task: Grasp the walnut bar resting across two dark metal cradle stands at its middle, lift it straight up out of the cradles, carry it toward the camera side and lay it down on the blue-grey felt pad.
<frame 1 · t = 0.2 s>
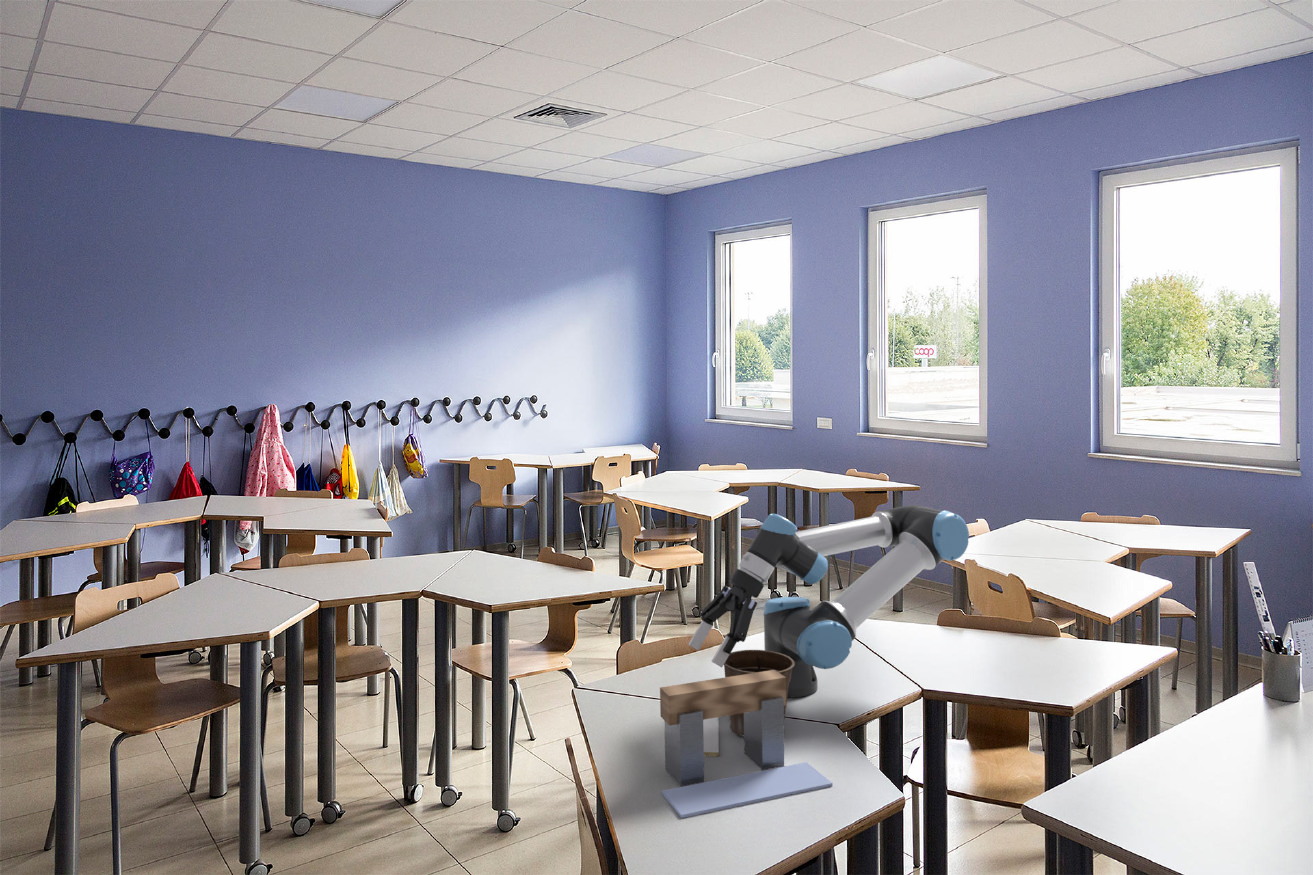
hand: (704, 655, 201), 16 cm above the table, tool tilted 35°, fingers open, 13 cm apart
stand 1: (684, 775, 178), on the table
oak rail: (724, 710, 180), point 12 cm above the table, touching stand 2, stand 1
baseboard molding: (692, 729, 202), on the table
plant pot: (756, 730, 199), on the table
stand 2: (763, 759, 184), on the table
felt pad: (747, 789, 171), on the table
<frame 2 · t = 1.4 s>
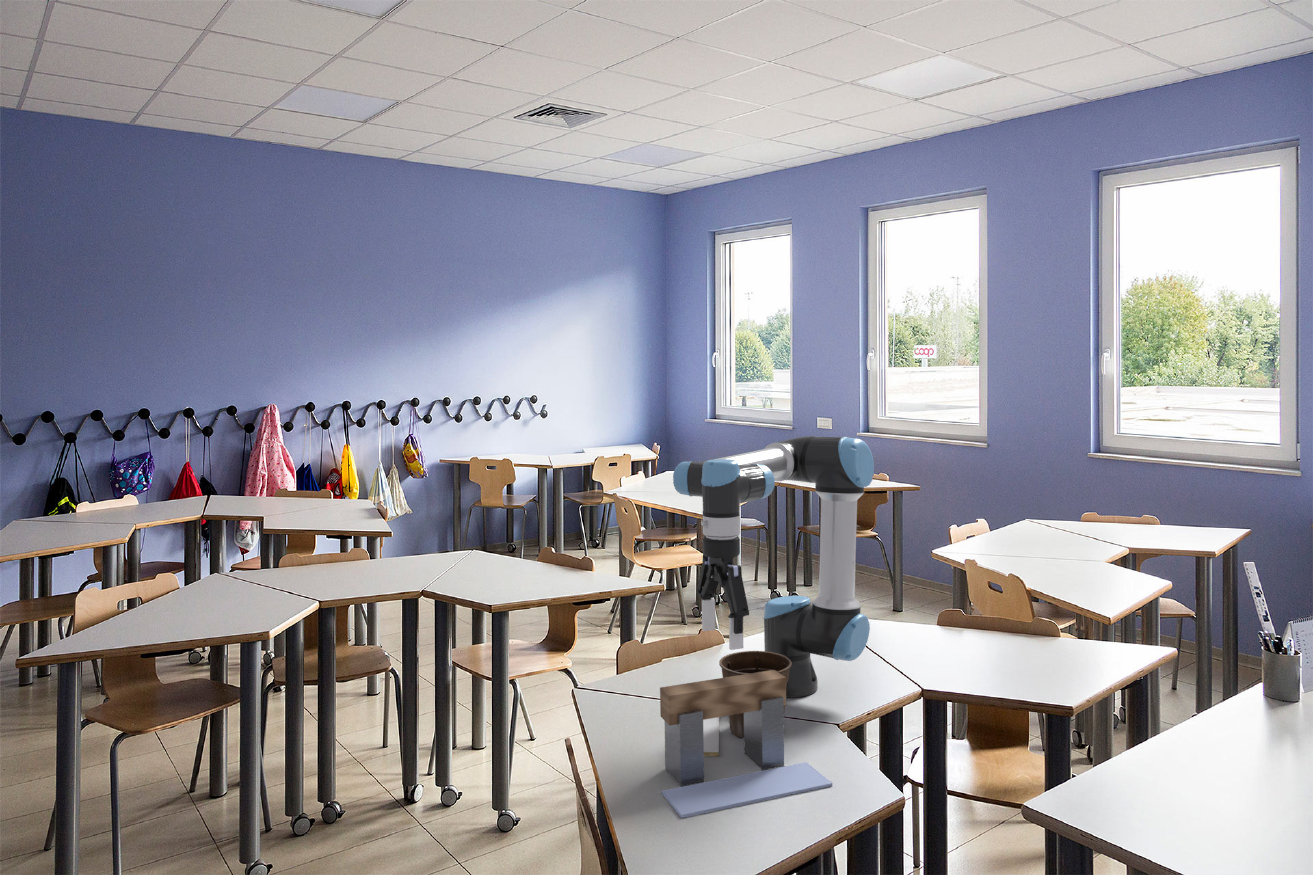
hand: (722, 639, 179), 27 cm above the table, tool pointing down, fingers open, 13 cm apart
nothing on the table moved.
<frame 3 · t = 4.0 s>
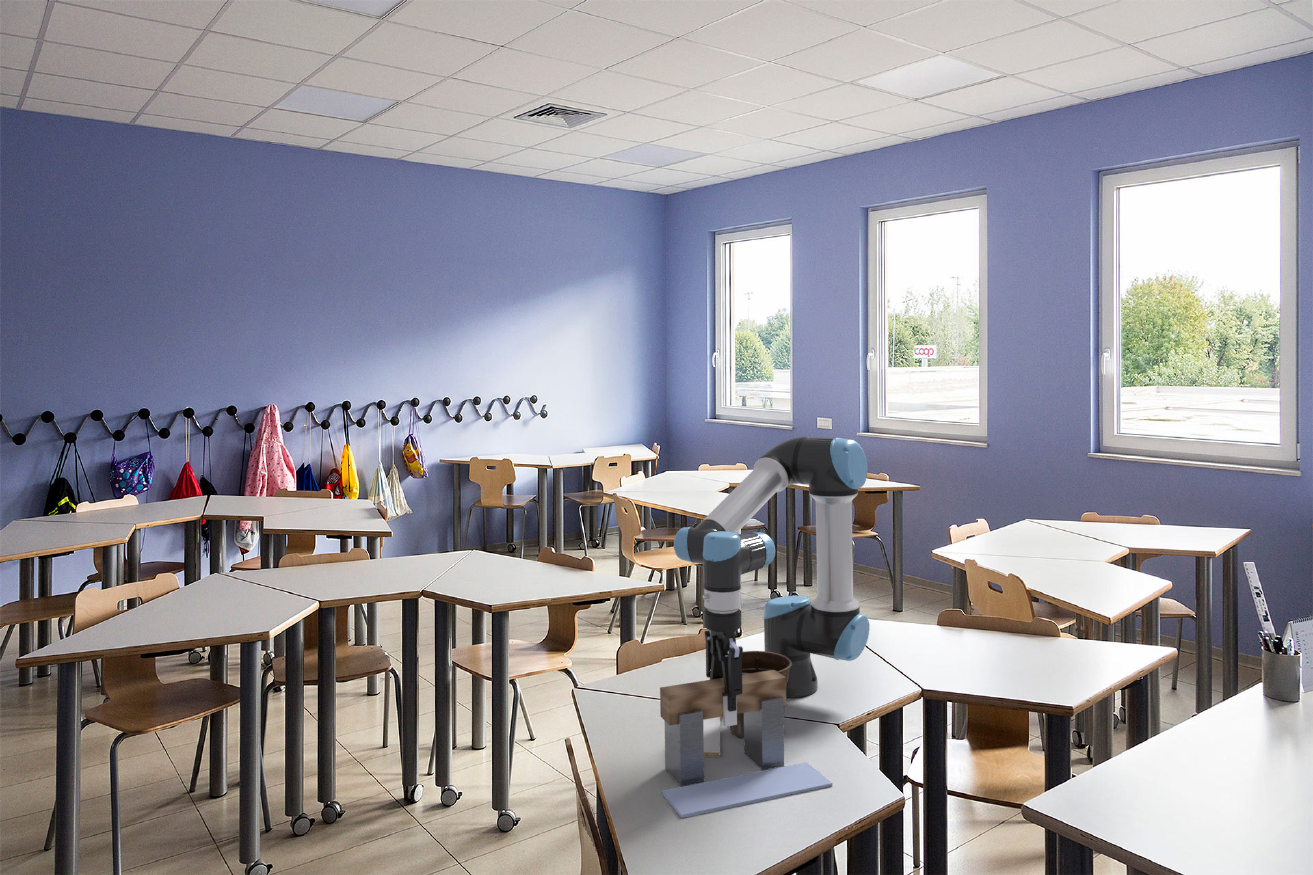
hand: (724, 719, 180), 10 cm above the table, tool pointing down, fingers closed on oak rail, 5 cm apart
oak rail: (724, 710, 180), point 12 cm above the table, touching gripper, stand 2, stand 1
everything else where it was.
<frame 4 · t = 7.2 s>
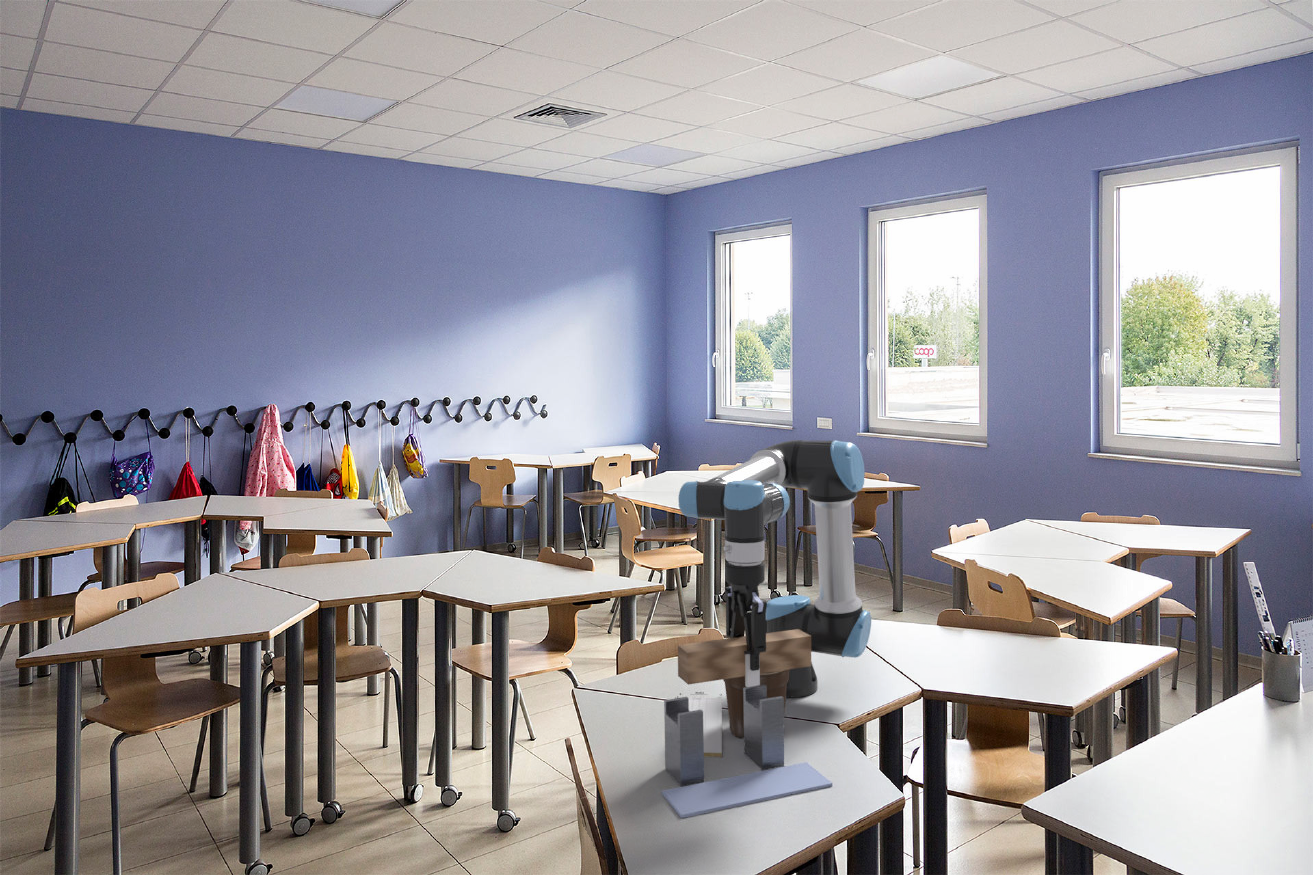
hand: (745, 680, 169), 22 cm above the table, tool pointing down, fingers closed on oak rail, 5 cm apart
oak rail: (745, 670, 169), point 24 cm above the table, touching gripper
everything else where it was.
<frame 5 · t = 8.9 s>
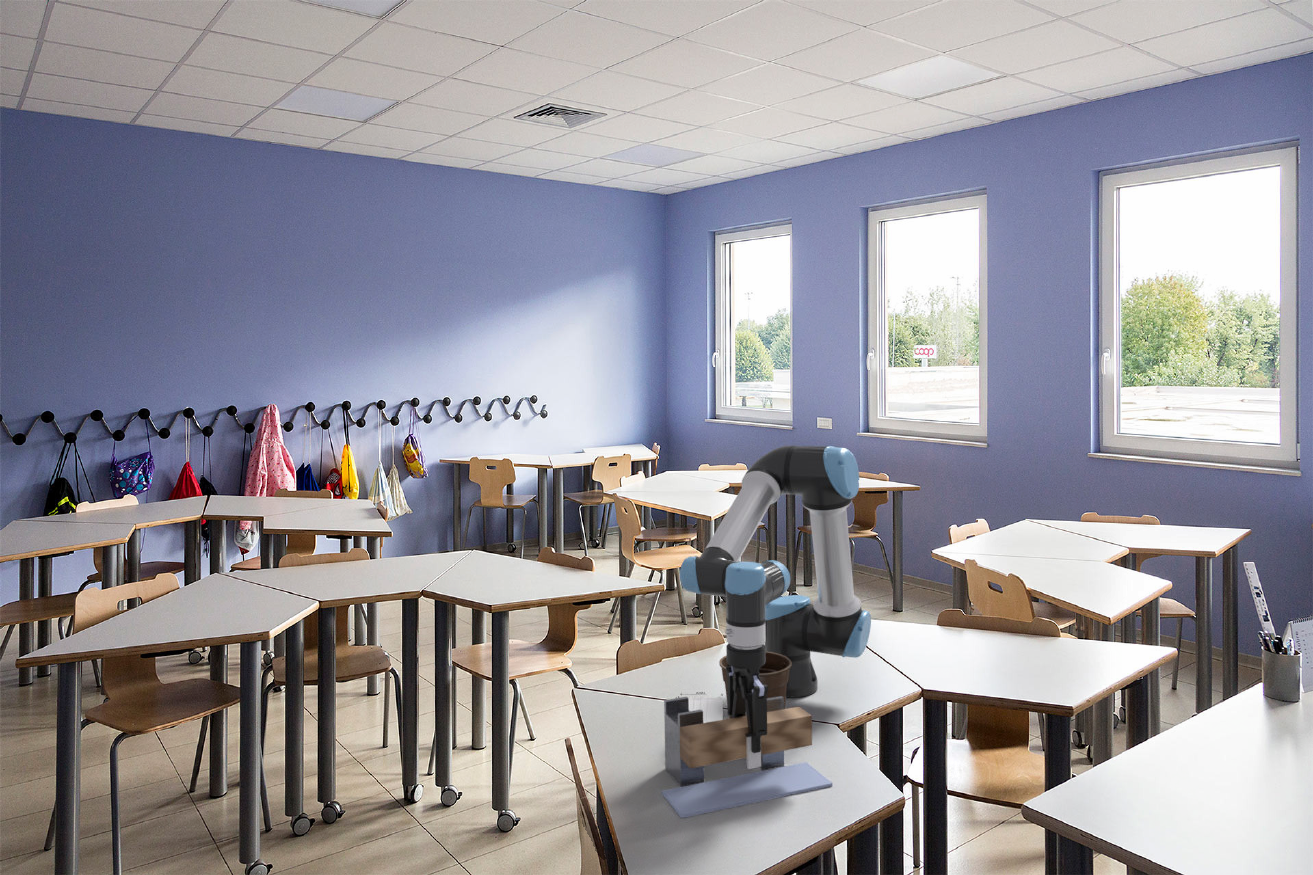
hand: (747, 760, 171), 6 cm above the table, tool pointing down, fingers closed on oak rail, 5 cm apart
oak rail: (746, 751, 171), point 8 cm above the table, touching gripper
when the fingers open (1 cm above the table, at t = 10.5 s): oak rail drops 2 cm, resting on felt pad.
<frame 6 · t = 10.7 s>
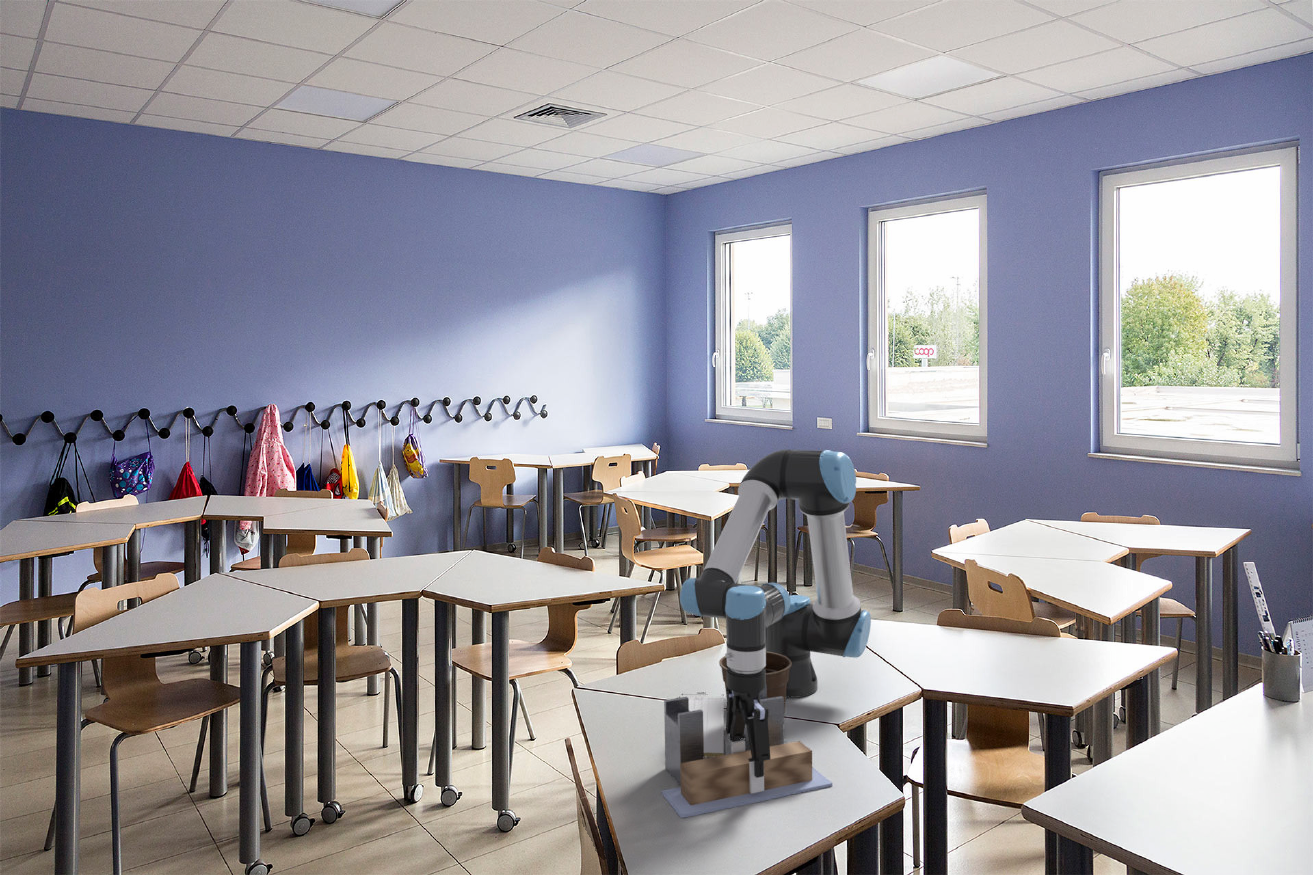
hand: (747, 781, 171), 2 cm above the table, tool pointing down, fingers open, 7 cm apart
oak rail: (747, 786, 171), point 1 cm above the table, touching felt pad
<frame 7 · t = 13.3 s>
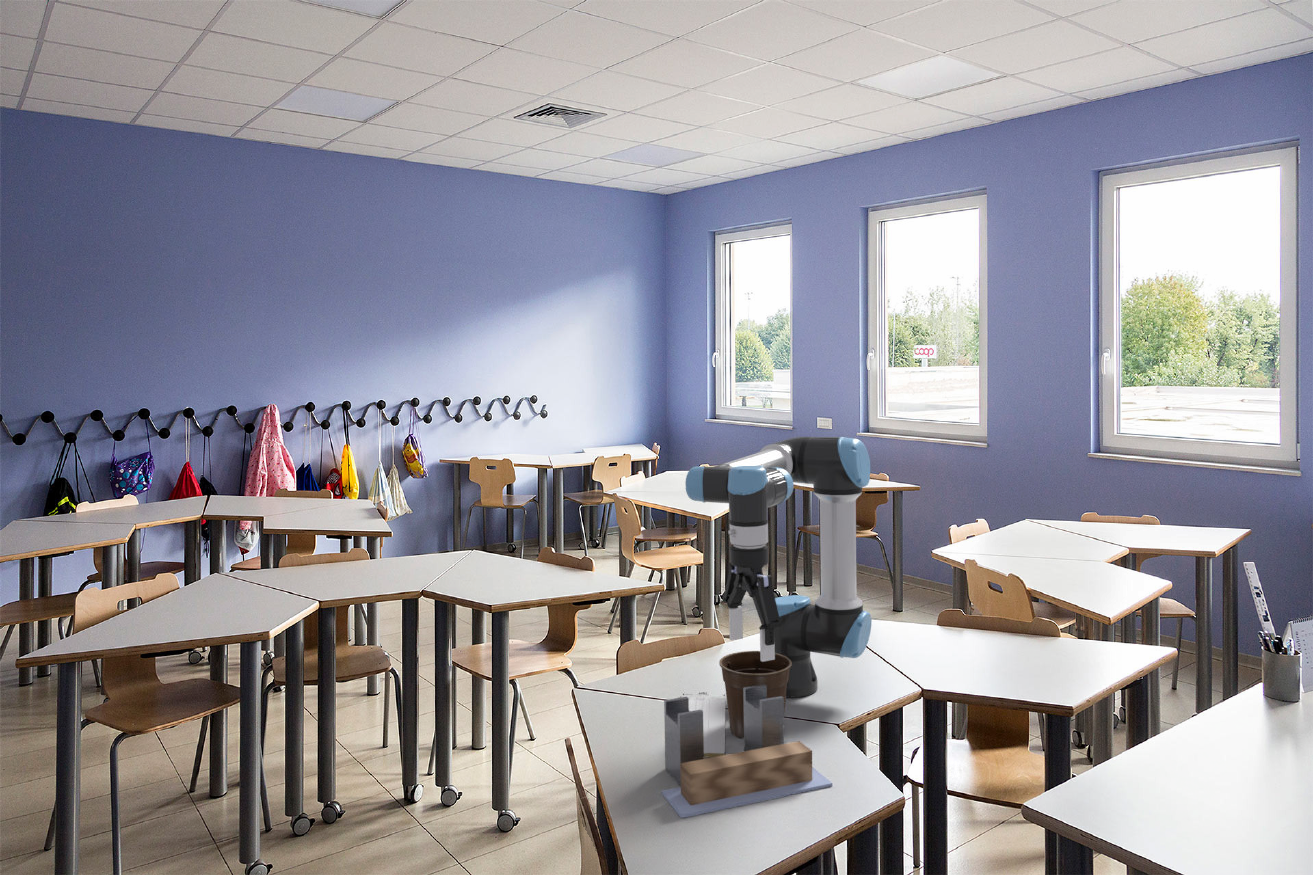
hand: (751, 649, 175), 26 cm above the table, tool pointing down, fingers open, 13 cm apart
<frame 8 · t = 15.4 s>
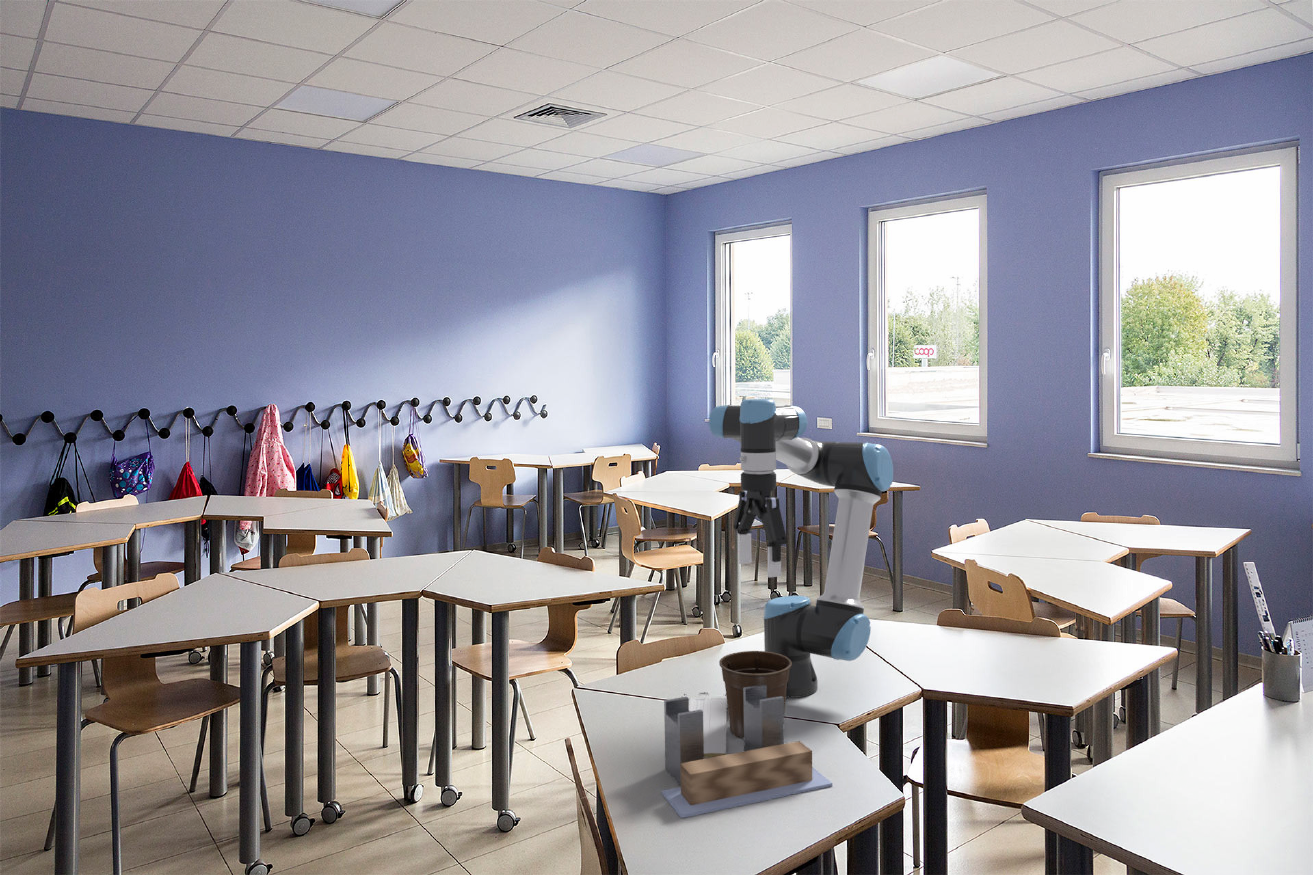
hand: (759, 569, 189), 39 cm above the table, tool pointing down, fingers open, 13 cm apart
at the end: oak rail inside the target area on the felt pad (0.1 cm from its centre), point 0.6 cm above the felt pad's base; the gripper is holding nothing; oak rail touching felt pad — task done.
